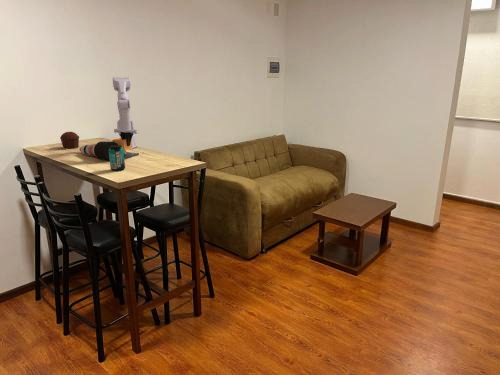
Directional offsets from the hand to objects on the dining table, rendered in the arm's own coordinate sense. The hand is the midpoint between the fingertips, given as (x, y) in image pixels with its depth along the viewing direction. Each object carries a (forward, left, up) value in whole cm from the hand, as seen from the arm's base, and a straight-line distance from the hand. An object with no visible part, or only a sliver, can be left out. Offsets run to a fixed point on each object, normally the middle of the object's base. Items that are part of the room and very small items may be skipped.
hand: (127, 145), depth 224 cm
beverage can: (+27, +12, -7) cm, 30 cm away
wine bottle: (+5, -18, -7) cm, 20 cm away
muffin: (-12, -51, -7) cm, 53 cm away
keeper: (0, -3, -6) cm, 7 cm away
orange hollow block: (0, -3, -2) cm, 4 cm away
